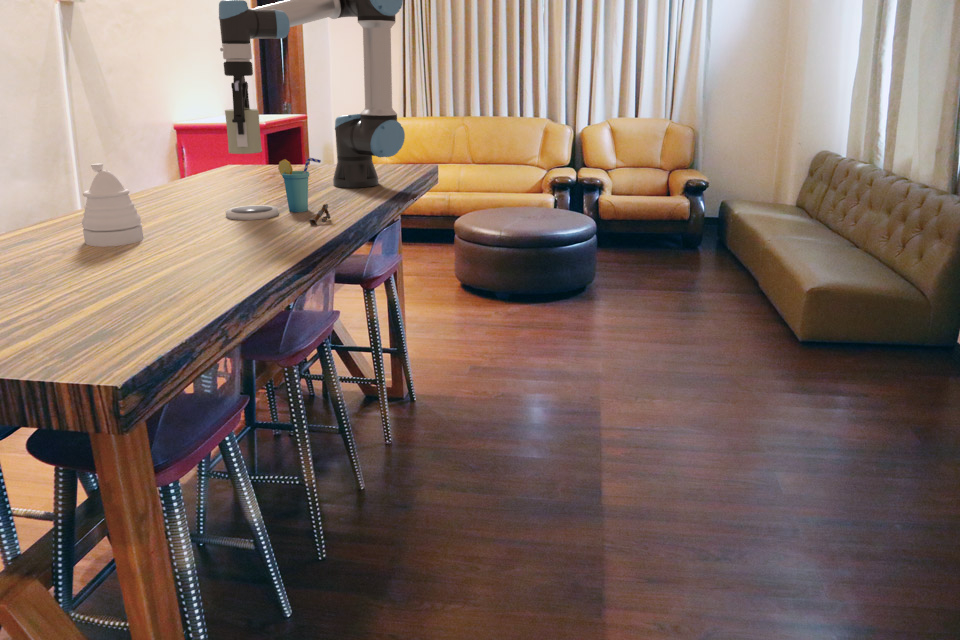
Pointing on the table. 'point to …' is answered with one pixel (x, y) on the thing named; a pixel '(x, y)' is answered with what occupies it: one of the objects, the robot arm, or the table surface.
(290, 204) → the cup
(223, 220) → the table surface
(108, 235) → the honey pot
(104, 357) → the table surface
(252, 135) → the can
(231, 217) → the white and grey plate
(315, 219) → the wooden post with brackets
